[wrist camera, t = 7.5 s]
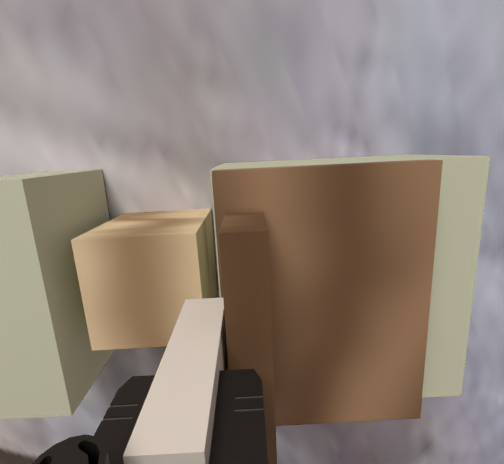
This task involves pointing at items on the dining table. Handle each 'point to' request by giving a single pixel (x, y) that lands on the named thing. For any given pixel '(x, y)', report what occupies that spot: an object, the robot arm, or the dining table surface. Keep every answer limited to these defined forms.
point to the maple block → (143, 275)
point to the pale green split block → (96, 213)
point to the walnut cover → (329, 286)
